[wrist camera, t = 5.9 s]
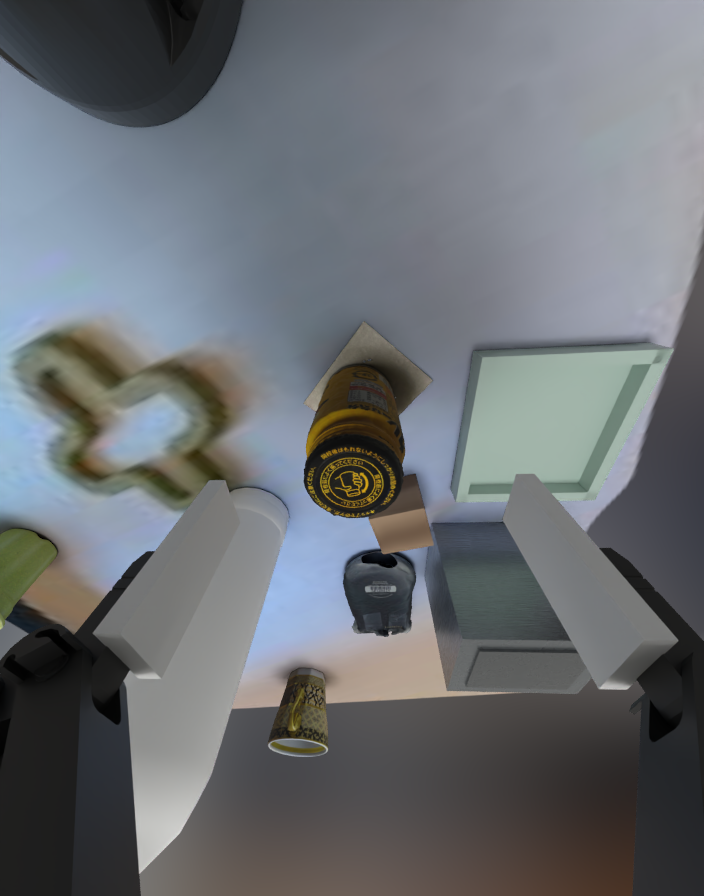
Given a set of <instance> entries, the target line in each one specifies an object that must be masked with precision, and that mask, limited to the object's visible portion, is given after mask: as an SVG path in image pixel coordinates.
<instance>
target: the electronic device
mask: <svg viewBox="0 0 704 896" xmlns="http://www.w3.org/2000/svg"><path fill="white" fill-rule="evenodd" d="M377 552H381V553H382V551H376V552H372V553H377ZM367 554H370V553H367ZM389 554H391V553H389ZM364 555H366V554H364ZM364 555H361V556H359V557H357V558H356V559H354V560H353V561H352V562H351V563H350V564H349V565H348V566H347V567H346V569H345V574H344V580H343V584H344V590H345V595H346V597H347V600H348V604H349V606H350V609H351V612H352V614H353V616H354V618H355V621H354V624H353V626H352V628H353V630H354V632H355V633H357V634H361V633H375V634H376V635H377V636H384V637H388V636H389V634H388V632H390V631H392V633H391V634H392V635H395V634H398V633H408V632H409V631H410V630H411V626H412V622H411V620H410V618H411V609H412V606H411V604H412V591H413V589H414V586H415V583H416V575H415V574H416V573H415V571H414V570H413V568H412V566H411V564H409V562H408V561H406V560H405V559H404V558H402V557H400V556H398V555H395V554H391V555H392V556H393V557H394V558H395V559H396V560H397V563H398V564H397V565H396V566H395V567H392V566H391V565H389V564H387V563H383V562H375V563H372V564H365V563H362V561H361V558H362V556H364ZM380 565H382V566H383V567H382V566H380Z"/></svg>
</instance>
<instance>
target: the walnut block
mask: <svg viewBox="0 0 704 896" xmlns="http://www.w3.org/2000/svg"><path fill="white" fill-rule="evenodd" d="M403 480H404V481H403V484H402V488H401V489H402V490H401V492H400V494H399V496H398V497H397V499H396V500H395V502H393V503H392V504H391V505H390V506H389V507H388V508H387V509H386V510H384V511H382V512H380V513H377V514H375V515H372V516H369V521H370V524H371V526H372V529H373V531H374V533H375V536H376V538H377V541H378V543H379V546H380V548H381V551H382V553H383V554H388V553H394V552H399V551H405V550H410V549H416V548H422V547H427V546H433V545H434V543H433V539H432V536H431V532H430V528H429V524H428V520H427V516H426V512H425V508H424V504H423V500H422V497H421V493H420V489H419V485H418V481H417V477H416V474H412V475H408V476H404V477H403Z"/></svg>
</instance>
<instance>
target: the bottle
mask: <svg viewBox="0 0 704 896" xmlns="http://www.w3.org/2000/svg"><path fill="white" fill-rule="evenodd" d="M230 495H231V498H232V501H233V504H234V507H235V509H236V512H237V515H238V518H239V521H240V524H239V526H238V528H237V530H236V532H235V534H234V536H233V538H232V540H231V542H230V544H229V546H228V548H227V550H226V552H225V554H224V556H223V558H222V560H221V562H220V564H219V566H218V568H217V570H216V572H215V574H214V576H213V578H212V580H211V582H210V584H209V586H208V588H207V590H206V592H205V594H204V596H203V598H202V600H201V602H200V604H199V606H198V608H197V610H196V611H195V613H194V615H193V617H192V619H191V621H190V623H189V625H188V627H187V629H186V631H185V633H184V635H183V637H182V639H181V641H180V643H179V645H178V647H177V649H176V651H175V653H174V655H173V657H172V659H171V661H170V663H169V665H168V667H167V669H166V671H165V673H164V675H163V677H162V679H138V678H137V677H136V676H135V675H134V674H133V673H132V672H131V671H129V672H128V674H127V676H126V677H125V679H124V683H125V685H126V689H127V704H128V718H129V733H130V748H131V762H132V777H133V791H134V806H135V820H136V835H137V850H138V864H139V874H140V873H141V872H142V871H143V870H144V869H145V868H146V867H147V866H148V865H149V864H150V863H151V862H152V861H153V860H154V859H155V858H156V857H157V856H158V854H160V852H162V851H163V849H165V847H167V846H168V844H170V843H171V842H172V840H173V839H174V838H175V837H176V836H177V835H178V834H179V833H180V832H181V830H182V828H183V826H184V825H185V823H186V821H187V819H188V818H189V816H190V814H191V812H192V811H193V809H194V807H195V805H196V804H197V802H198V800H199V798H200V796H201V794H202V792H203V790H204V788H205V786H206V784H207V782H208V780H209V778H210V776H211V774H212V771H213V768H214V764H215V761H216V757H217V754H218V751H219V748H220V745H221V741H222V738H223V735H224V732H225V728H226V725H227V721H228V718H229V715H230V712H231V709H232V705H233V702H234V699H235V696H236V692H237V689H238V686H239V682H240V679H241V676H242V673H243V669H244V666H245V663H246V659H247V656H248V653H249V650H250V646H251V643H252V640H253V637H254V633H255V630H256V627H257V623H258V620H259V617H260V614H261V610H262V607H263V604H264V601H265V597H266V594H267V591H268V587H269V584H270V581H271V578H272V574H273V571H274V568H275V565H276V561H277V558H278V555H279V551H280V548H281V547H282V545H283V542H284V538H285V534H286V530H287V525H288V521H289V514H288V510H287V508H286V507H285V505H284V504H283V503H282V501H281V500H279V499H278V498H277V497H275V496H274V495H273V494H271V493H269V492H266V491H263V490H261V489H256V488H247V487H246V488H240V489H235V490H233V491H231V492H230Z"/></svg>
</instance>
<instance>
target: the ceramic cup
mask: <svg viewBox="0 0 704 896" xmlns="http://www.w3.org/2000/svg"><path fill="white" fill-rule="evenodd" d="M327 730H328V729H327V719H326V698H325V679H324V676H323V673H322V672H319V671H317V670H314V669H312V668H299V669H297V670H295V671H293V672H292V673H291V674H290V677H289V680H288V682H287V686H286V689H285V692H284V695H283V698H282V701H281V704H280V708H279V710H278V713H277V716H276V718H275V721H274V724H273V727H272V730H271V734H270V737H269V741H268V747H269V748H270V749H271V750H273V751H276V752H278V753H281V754H285V755H290V756H300V757H311V756H319V755H323V754H325V753H326V752H327V751H328V731H327Z"/></svg>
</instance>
